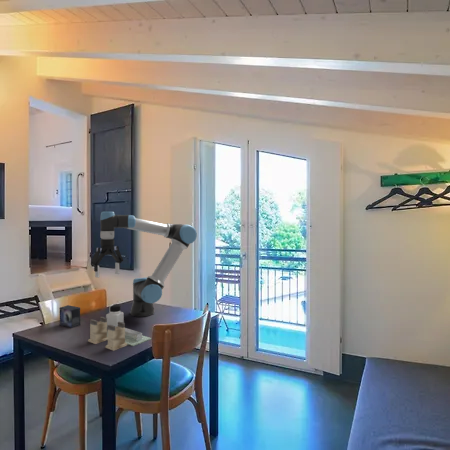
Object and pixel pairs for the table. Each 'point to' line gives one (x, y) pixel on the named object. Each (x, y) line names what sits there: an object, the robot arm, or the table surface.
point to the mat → (133, 343)
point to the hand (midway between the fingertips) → (107, 275)
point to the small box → (70, 316)
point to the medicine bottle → (114, 315)
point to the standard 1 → (98, 330)
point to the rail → (132, 334)
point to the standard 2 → (116, 336)
